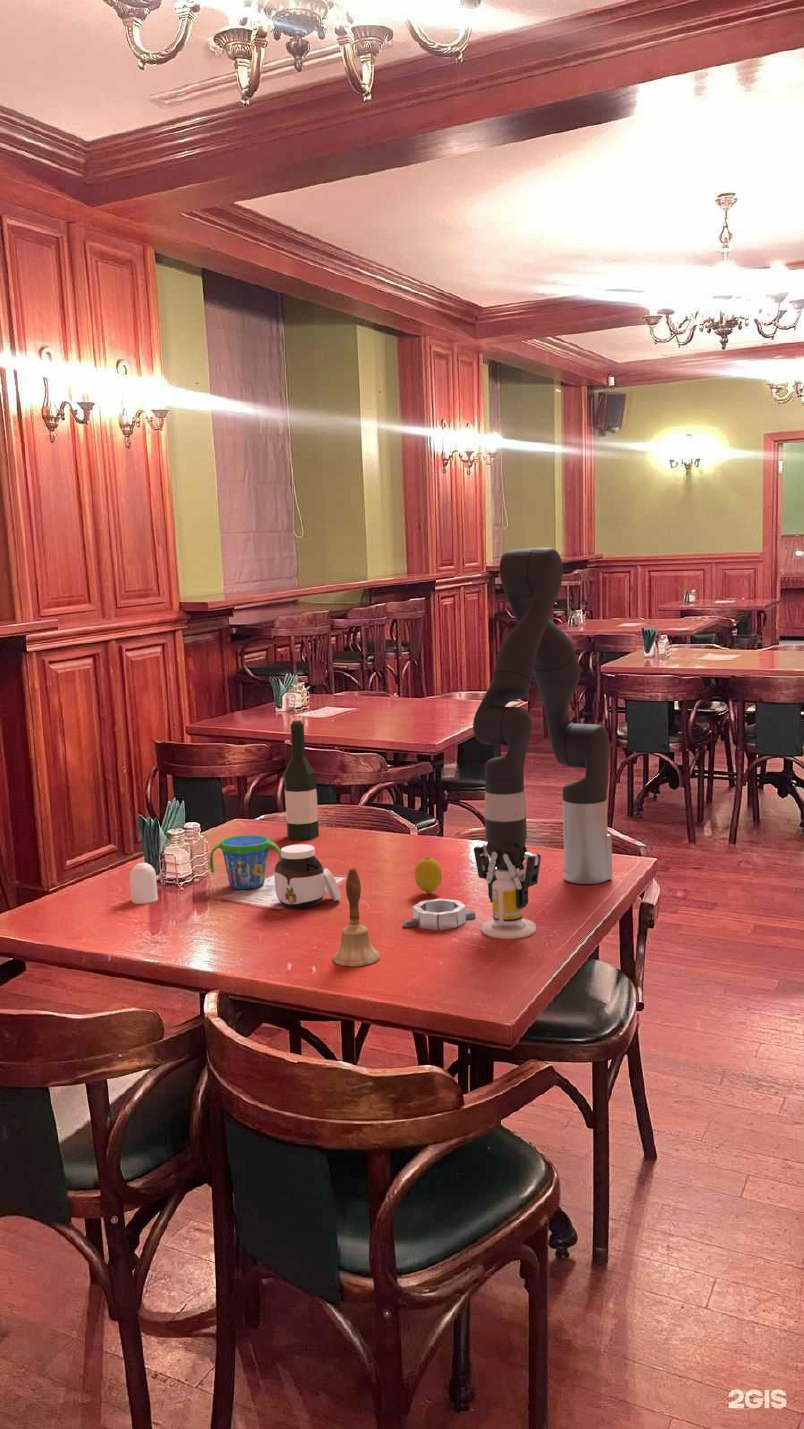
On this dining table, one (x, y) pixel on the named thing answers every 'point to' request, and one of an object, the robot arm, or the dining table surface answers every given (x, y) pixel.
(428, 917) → the collar
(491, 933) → the plate
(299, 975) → the dining table surface
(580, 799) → the robot arm
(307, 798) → the wine bottle
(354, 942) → the hand bell
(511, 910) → the supplement bottle
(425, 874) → the lemon
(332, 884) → the spread jar
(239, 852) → the snack cup
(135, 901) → the white domed cylinder
